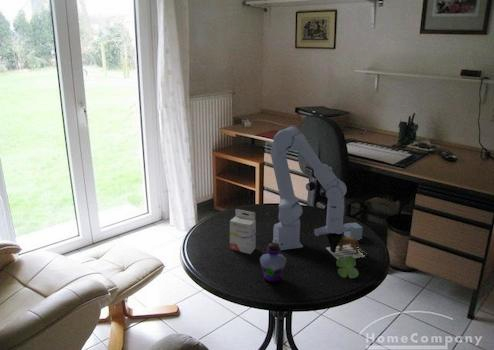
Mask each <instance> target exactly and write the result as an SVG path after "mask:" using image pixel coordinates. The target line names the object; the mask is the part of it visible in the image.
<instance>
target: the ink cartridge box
mask: <svg viewBox="0 0 494 350" xmlns="http://www.w3.org/2000/svg"><path fill="white" fill-rule="evenodd" d="M234 211H235V216H234V217H233V218H231V219H230V220H229V250H232V251H236V252H241V253H244V254H249V255H251V254H252V253H253V252H254V250H255V249H256V240H257V239H256V238H257V237H256V233H257V230H256V226H257V225H256V223H257V220H256V212H254V211H249V210H243V209H238V208H235V210H234ZM246 214H247V215H246Z"/></svg>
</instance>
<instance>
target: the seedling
mask: <svg viewBox="0 0 494 350" xmlns="http://www.w3.org/2000/svg"><path fill="white" fill-rule="evenodd" d="M356 261H357V260H356V258H353V257H352V256H347V257H346V259H343V258H338V259H336V262H335V263H336V266H337V267H338V269H337V274H338V275H339V276H340V277H341V278H347V277H349V278H350V279H355V278H357V277H358V276H359V274H360V273H359V270H358V269H357V268H356V265H357V262H356Z"/></svg>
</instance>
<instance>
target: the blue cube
mask: <svg viewBox="0 0 494 350" xmlns="http://www.w3.org/2000/svg"><path fill="white" fill-rule="evenodd" d="M344 225H353V226H354V232H351V231H347V232H343V234H344V236H346V237H354V238H355V239H356V240H357V241H361V240H360V239H362V240H363V229H364V228H363V226H361V224H359V223H357V222H349V223H344Z"/></svg>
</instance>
